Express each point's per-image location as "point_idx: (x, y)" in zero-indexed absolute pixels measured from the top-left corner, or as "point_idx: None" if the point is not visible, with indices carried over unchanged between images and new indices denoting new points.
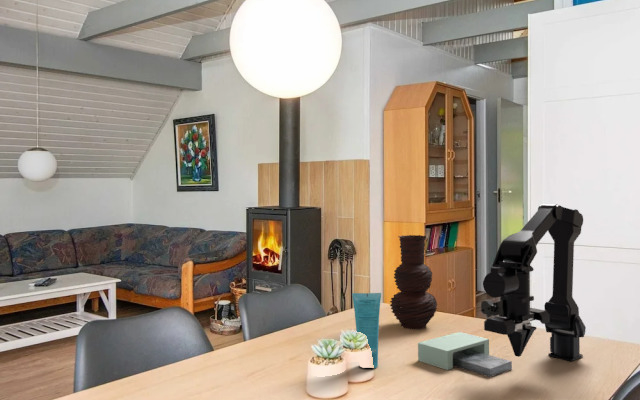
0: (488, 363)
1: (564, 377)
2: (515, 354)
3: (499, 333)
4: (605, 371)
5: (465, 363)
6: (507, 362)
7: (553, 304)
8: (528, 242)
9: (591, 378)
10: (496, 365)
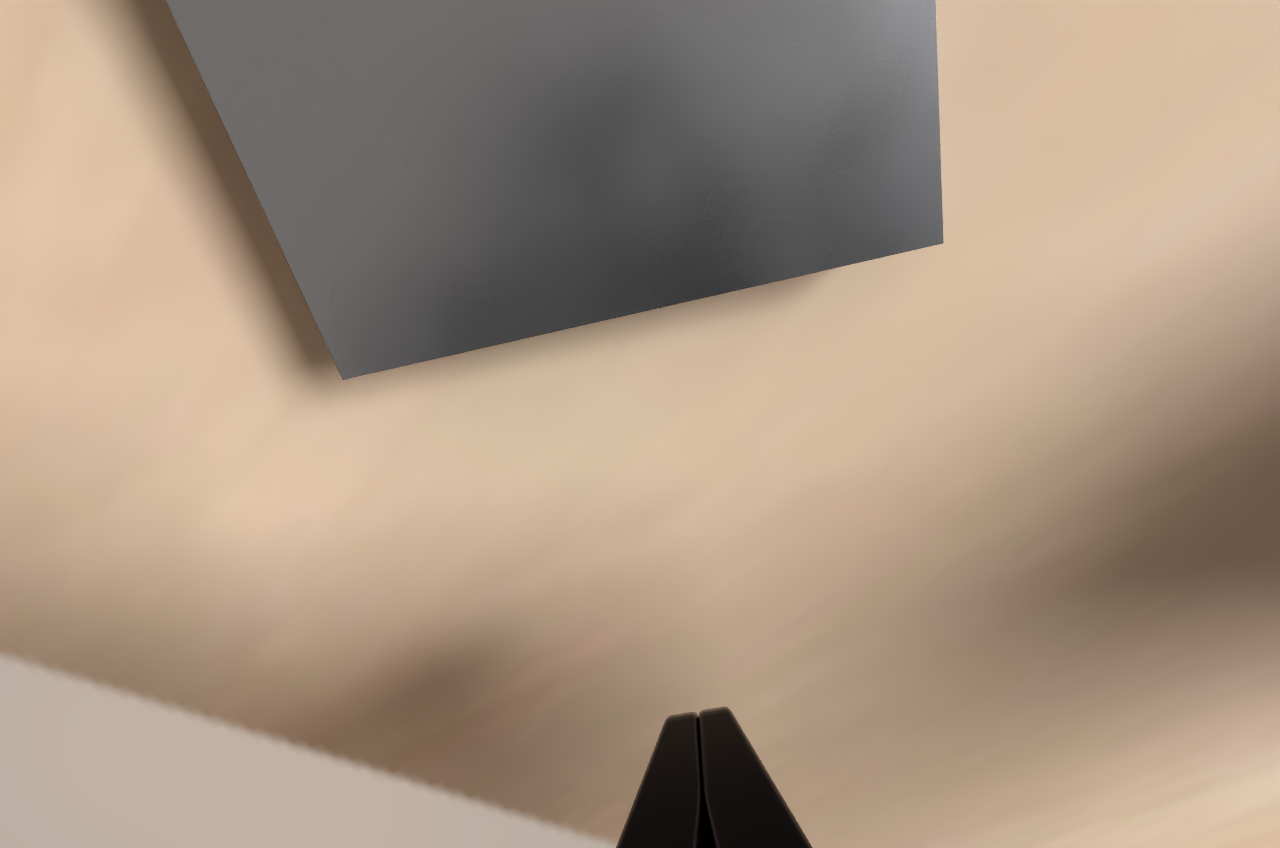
0: (477, 148)
1: (1110, 672)
2: (661, 751)
3: None
4: None
5: None
6: (825, 261)
7: None
8: None
9: (1267, 768)
10: (541, 302)
